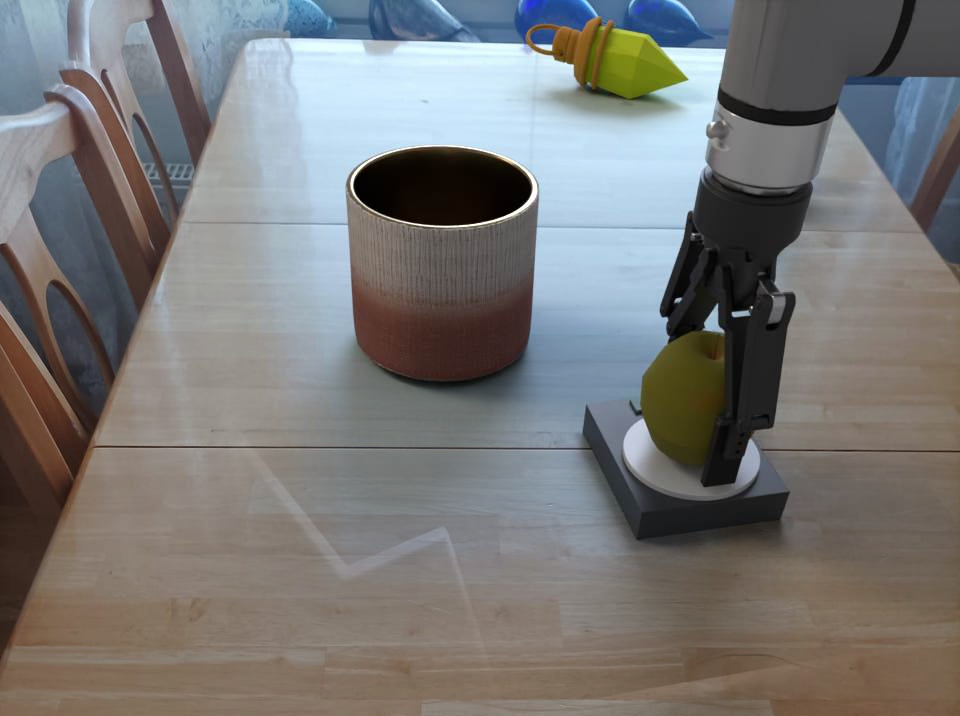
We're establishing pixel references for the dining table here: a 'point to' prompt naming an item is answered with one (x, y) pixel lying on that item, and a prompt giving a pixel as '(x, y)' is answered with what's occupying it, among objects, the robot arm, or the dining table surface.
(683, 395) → the apple
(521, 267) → the planter
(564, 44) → the plumb bob
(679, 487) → the scale
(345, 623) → the dining table surface
